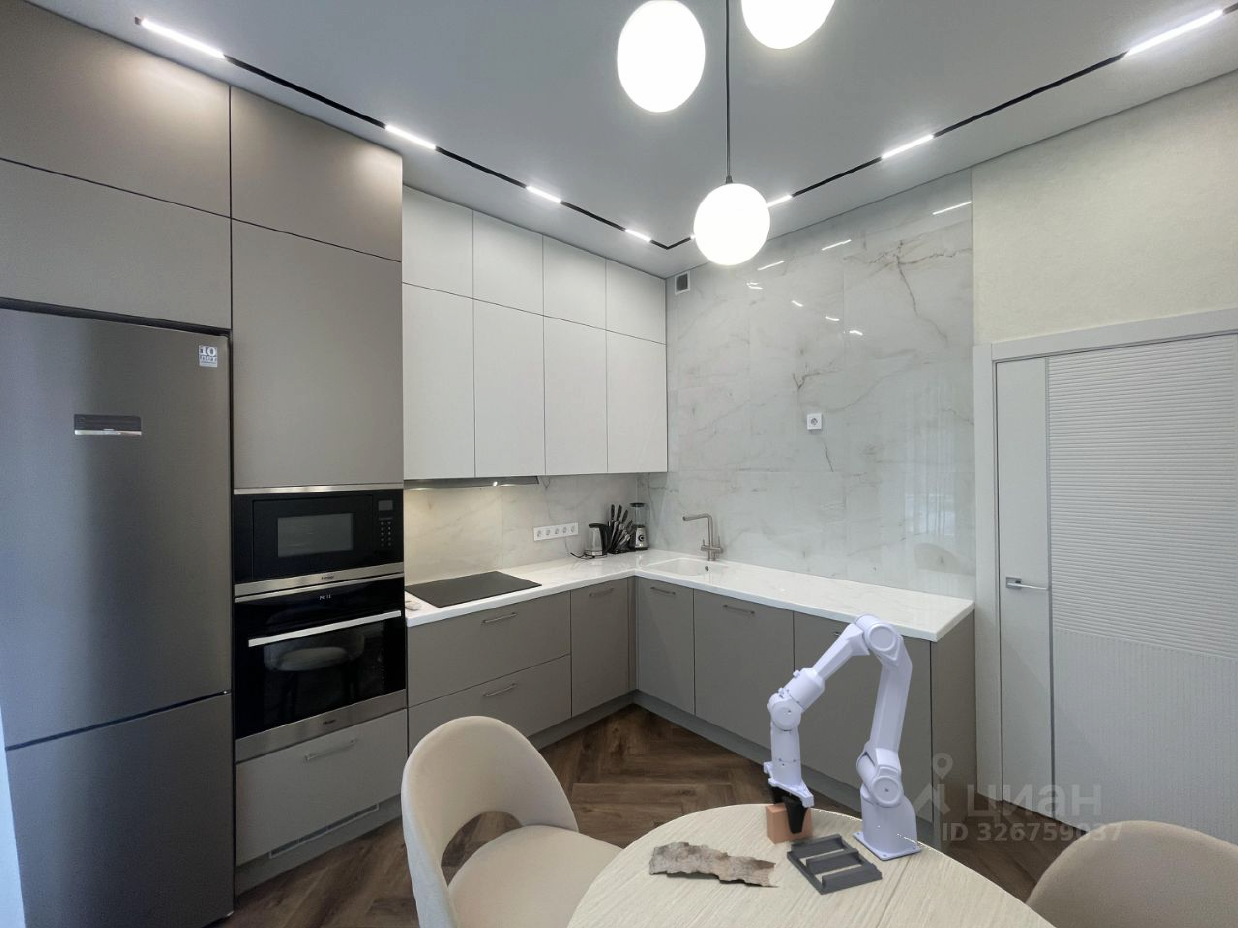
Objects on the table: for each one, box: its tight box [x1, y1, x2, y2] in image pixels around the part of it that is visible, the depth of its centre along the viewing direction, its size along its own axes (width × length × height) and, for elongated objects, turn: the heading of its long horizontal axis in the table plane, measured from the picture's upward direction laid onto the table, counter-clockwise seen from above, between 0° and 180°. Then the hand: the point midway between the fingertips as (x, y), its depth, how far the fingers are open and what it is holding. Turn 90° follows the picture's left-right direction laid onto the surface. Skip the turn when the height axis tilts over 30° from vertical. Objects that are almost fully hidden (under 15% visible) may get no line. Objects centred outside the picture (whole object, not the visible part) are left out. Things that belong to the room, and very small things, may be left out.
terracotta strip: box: [765, 802, 813, 845], centre depth 102 cm, size 9×2×6 cm, turn 106°
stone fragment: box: [648, 841, 780, 888], centre depth 93 cm, size 25×3×10 cm
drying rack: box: [786, 833, 883, 896], centre depth 92 cm, size 13×10×2 cm
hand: (789, 825), depth 102 cm, fingers open, 4 cm apart
